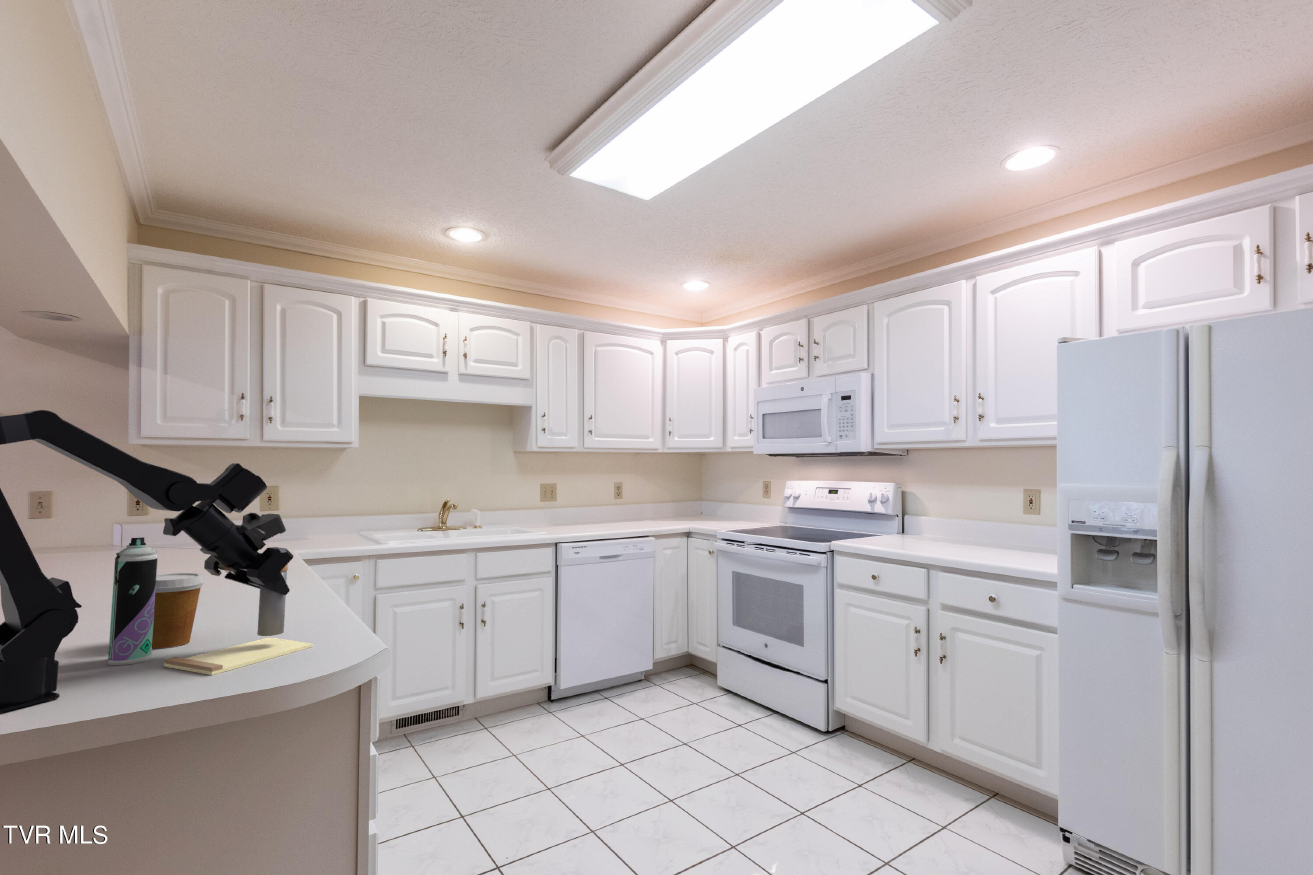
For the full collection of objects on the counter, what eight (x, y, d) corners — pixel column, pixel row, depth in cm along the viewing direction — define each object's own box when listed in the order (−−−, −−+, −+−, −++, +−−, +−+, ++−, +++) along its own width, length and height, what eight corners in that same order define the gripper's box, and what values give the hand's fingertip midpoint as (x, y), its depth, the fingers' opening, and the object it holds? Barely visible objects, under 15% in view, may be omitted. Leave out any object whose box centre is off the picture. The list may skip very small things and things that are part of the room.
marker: (273, 636, 110) (278, 555, 111) (251, 635, 110) (255, 554, 111) (289, 630, 114) (293, 552, 115) (267, 629, 115) (271, 551, 115)
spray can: (126, 666, 101) (134, 539, 102) (98, 663, 102) (107, 538, 103) (159, 656, 106) (167, 536, 107) (133, 654, 107) (140, 535, 108)
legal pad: (212, 675, 97) (212, 667, 97) (164, 666, 101) (164, 659, 101) (312, 646, 114) (313, 640, 114) (268, 639, 118) (268, 633, 118)
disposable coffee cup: (184, 649, 111) (189, 580, 111) (121, 652, 109) (126, 581, 109) (210, 636, 120) (214, 572, 121) (152, 638, 118) (156, 572, 119)
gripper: (284, 500, 106) (343, 560, 114) (227, 496, 115) (286, 552, 124) (229, 552, 98) (297, 612, 107) (174, 543, 108) (240, 599, 117)
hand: (280, 591), depth 114 cm, fingers closed on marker, 4 cm apart
